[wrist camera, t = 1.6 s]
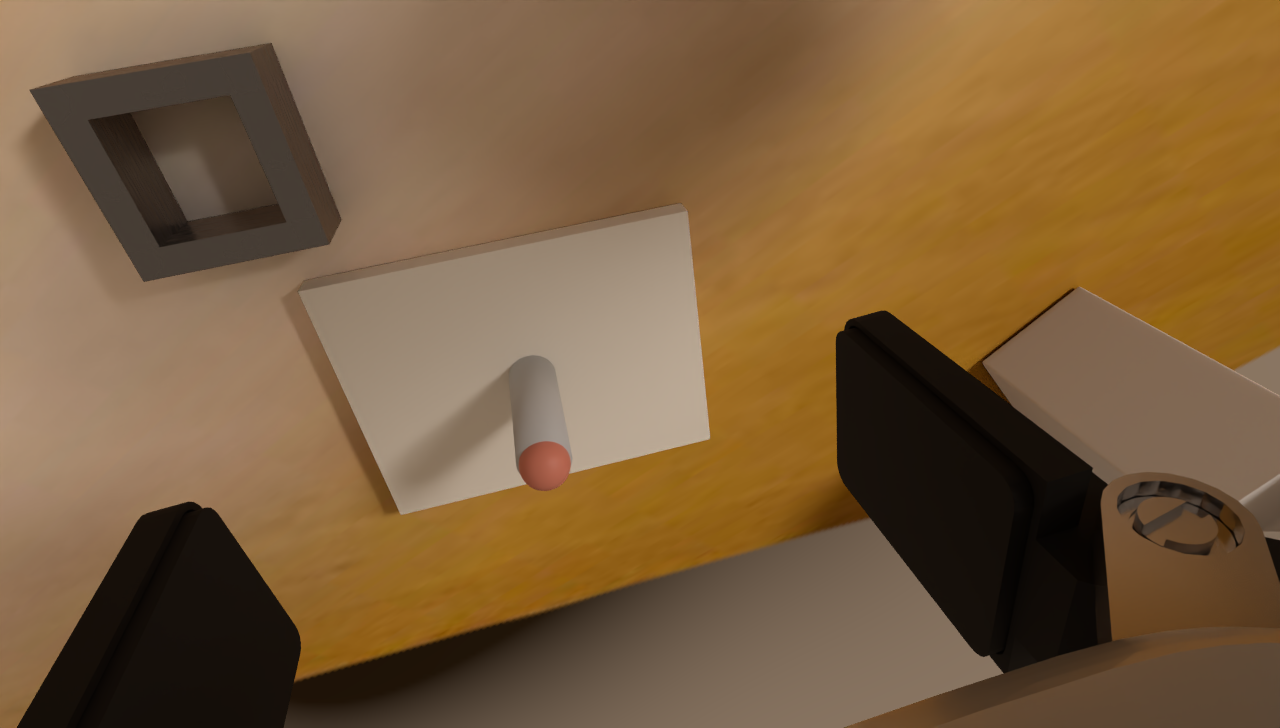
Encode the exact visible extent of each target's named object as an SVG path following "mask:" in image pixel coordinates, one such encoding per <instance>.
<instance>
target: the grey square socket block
mask: <svg viewBox="0 0 1280 728" xmlns="http://www.w3.org/2000/svg"><path fill="white" fill-rule="evenodd" d="M30 92H31V94H32V95H33V97H34V99H35V100H36V102H37V104H38V105H39V107H40V109H41V110H42V112H43V114H44V115H45V117H46V119H47V120H48V122H49V124H50V125H51V127H52V129H53V130H54V132H55V134H56V135H57V137H58V139H59V140H60V142H61V144H62V146H63V147H64V149H65V151H66V152H67V154H68V156H69V157H70V159H71V161H72V162H73V164H74V166H75V167H76V169H77V171H78V172H79V174H80V176H81V177H82V179H83V181H84V182H85V184H86V186H87V187H88V189H89V191H90V192H91V194H92V196H93V197H94V199H95V201H96V202H97V204H98V206H99V207H100V209H101V211H102V213H103V214H104V216H105V218H106V219H107V221H108V223H109V224H110V226H111V228H112V229H113V231H114V233H115V234H116V236H117V238H118V239H119V241H120V243H121V244H122V246H123V248H124V249H125V251H126V253H127V254H128V256H129V258H130V259H131V261H132V263H133V264H134V266H135V268H136V269H137V271H138V273H139V274H140V276H141V278H142V280H143V281H144V282H145V281H150V280H155V279H160V278H165V277H170V276H175V275H180V274H185V273H190V272H195V271H200V270H205V269H210V268H214V267H219V266H224V265H229V264H234V263H239V262H244V261H249V260H254V259H259V258H264V257H269V256H274V255H279V254H284V253H289V252H294V251H299V250H304V249H309V248H314V247H319V246H324V245H329V244H330V242H331V240H332V238H333V236H334V234H335V232H336V230H337V228H338V226H339V224H340V222H341V217H340V215H339V212H338V210H337V207H336V205H335V202H334V200H333V197H332V195H331V192H330V190H329V187H328V185H327V182H326V180H325V177H324V175H323V172H322V169H321V167H320V164H319V162H318V159H317V157H316V154H315V152H314V149H313V147H312V144H311V142H310V139H309V137H308V134H307V132H306V129H305V127H304V124H303V122H302V119H301V116H300V114H299V111H298V109H297V106H296V104H295V101H294V99H293V96H292V94H291V91H290V89H289V86H288V84H287V81H286V79H285V76H284V74H283V71H282V69H281V66H280V63H279V61H278V58H277V56H276V53H275V51H274V48H273V46H272V43H269V44H263V45H257V46H251V47H245V48H239V49H233V50H227V51H221V52H215V53H209V54H203V55H198V56H192V57H186V58H180V59H174V60H168V61H162V62H156V63H150V64H144V65H138V66H132V67H127V68H121V69H115V70H109V71H103V72H97V73H91V74H85V75H79V76H73V77H70V78H67V79H64V80H60V81H57V82H54V83H50V84H47V85H44V86H41V87H37V88H34V89H31V90H30ZM227 95H230V96H231V98H232V100H233V103H234V105H235V107H236V109H237V112H238V114H239V116H240V118H241V121H242V123H243V125H244V127H245V130H246V132H247V134H248V136H249V139H250V141H251V143H252V145H253V148H254V150H255V152H256V154H257V157H258V159H259V161H260V163H261V166H262V168H263V170H264V172H265V175H266V177H267V179H268V181H269V184H270V186H271V188H272V190H273V193H274V195H275V197H276V199H277V202H278V204H276V205H270V206H265V207H260V208H255V209H250V210H245V211H239V212H234V213H229V214H224V215H219V216H214V217H208V218H203V219H198V220H193V221H188V222H187V220H186V218H185V216H184V214H183V212H182V211H181V209H180V207H179V205H178V203H177V201H176V199H175V197H174V195H173V194H172V192H171V190H170V188H169V186H168V184H167V182H166V180H165V178H164V177H163V175H162V173H161V171H160V169H159V167H158V165H157V163H156V161H155V160H154V158H153V156H152V154H151V152H150V150H149V148H148V146H147V144H146V143H145V141H144V139H143V137H142V135H141V133H140V131H139V129H138V127H137V126H136V124H135V122H134V120H133V118H132V116H131V114H130V112H136V111H142V110H147V109H153V108H159V107H164V106H170V105H176V104H181V103H187V102H193V101H198V100H204V99H210V98H215V97H221V96H227Z"/></svg>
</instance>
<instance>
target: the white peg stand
mask: <svg viewBox="0 0 1280 728" xmlns="http://www.w3.org/2000/svg"><path fill="white" fill-rule="evenodd" d="M298 293H299V296H300V298H301V300H302V302H303V304H304V306H305V309H306V311H307V313H308V315H309V317H310V319H311V322H312V324H313V326H314V328H315V330H316V332H317V335H318V337H319V339H320V341H321V343H322V345H323V348H324V350H325V352H326V354H327V356H328V358H329V360H330V363H331V365H332V367H333V369H334V371H335V373H336V376H337V378H338V380H339V382H340V384H341V386H342V389H343V391H344V393H345V395H346V397H347V399H348V402H349V404H350V406H351V408H352V410H353V412H354V415H355V417H356V419H357V421H358V423H359V425H360V428H361V430H362V432H363V434H364V436H365V438H366V441H367V443H368V445H369V447H370V449H371V451H372V454H373V456H374V458H375V460H376V462H377V464H378V467H379V469H380V471H381V473H382V475H383V477H384V480H385V482H386V484H387V486H388V488H389V490H390V493H391V495H392V497H393V499H394V501H395V503H396V506H397V508H398V510H399V512H400V514H401V515H403V514H407V513H411V512H415V511H419V510H423V509H427V508H431V507H435V506H440V505H444V504H448V503H452V502H456V501H460V500H464V499H468V498H472V497H476V496H480V495H484V494H488V493H492V492H496V491H501V490H505V489H509V488H513V487H517V486H521V485H525V484H527V485H529V486H530V487H532V488H534V489H536V490H541V491H548V490H552V489H555V488H557V487H559V486H560V485H561V484H562V483H563V482H564V481H565V480H566V479H567V477H568V475H569V474H570V473H574V472H578V471H582V470H586V469H590V468H594V467H598V466H602V465H606V464H610V463H614V462H618V461H622V460H626V459H631V458H635V457H639V456H643V455H647V454H651V453H655V452H659V451H663V450H667V449H671V448H675V447H679V446H683V445H687V444H691V443H696V442H700V441H704V440H708V439H710V432H709V422H708V412H707V402H706V392H705V382H704V372H703V362H702V352H701V342H700V331H699V321H698V311H697V301H696V291H695V281H694V271H693V261H692V251H691V241H690V231H689V221H688V211H687V210H686V208H685V207H684V206H683V205H682V204H681V203H678V204H674V205H669V206H664V207H659V208H654V209H649V210H645V211H640V212H635V213H630V214H625V215H620V216H615V217H611V218H606V219H601V220H596V221H591V222H586V223H582V224H577V225H572V226H567V227H562V228H557V229H552V230H548V231H543V232H538V233H533V234H528V235H523V236H519V237H514V238H509V239H504V240H499V241H494V242H489V243H485V244H480V245H475V246H470V247H465V248H460V249H456V250H451V251H446V252H441V253H436V254H431V255H426V256H422V257H417V258H412V259H407V260H402V261H397V262H393V263H388V264H383V265H378V266H373V267H368V268H364V269H359V270H354V271H349V272H344V273H339V274H334V275H330V276H325V277H320V278H315V279H310V280H305V281H303V283H302V285H301V287H300V289H299V291H298Z"/></svg>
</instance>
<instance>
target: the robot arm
mask: <svg viewBox="0 0 1280 728" xmlns="http://www.w3.org/2000/svg"><path fill="white" fill-rule="evenodd" d="M836 399H837V465H838V470H839V473H840V476H841V479H842V481H843V483H844V484H845V486H846V487H847V488H848V490H849V491H850V492H851V494H852V495H853V496H854V497H855V499H856V500H857V501H858V503H859V504H860V505H861V506H862V508H863V509H864V510H865V512H866V513H867V514H868V515H869V517H870V518H871V519H872V521H873V522H874V523H875V525H876V526H877V527H878V528H879V530H880V531H881V532H882V534H883V535H884V536H885V537H886V539H887V540H888V541H889V542H890V544H891V545H892V546H893V548H894V549H895V550H896V552H897V553H898V554H899V555H900V557H901V558H902V559H903V561H904V562H905V563H906V565H907V566H908V567H909V568H910V570H911V571H912V572H913V573H914V575H915V576H916V577H917V579H918V580H919V581H920V582H921V584H922V585H923V586H924V588H925V589H926V590H927V592H928V593H929V594H930V595H931V597H932V598H933V599H934V601H935V602H936V603H937V604H938V606H939V607H940V608H941V610H942V611H943V612H944V614H945V615H946V616H947V617H948V619H949V620H950V621H951V622H952V624H953V625H954V626H955V627H956V629H957V630H958V632H959V633H960V634H961V635H962V637H963V638H964V639H965V641H966V642H967V643H968V644H969V646H970V647H971V648H972V649H973V650H974V651H975V652H976V653H977V654H979V655H980V656H983V657H985V656H988V655H990V657H991V658H992V659H993V660H994V662H995V663H996V664H997V666H998V667H999V668H1000V669H1001V670H1002V672H1003V673H1004V674H1001V675H998V676H995V677H992V678H989V679H985V680H983V681H979V682H976V683H973V684H971V685H967V686H964V687H961V688H958V689H955V690H952V691H949V692H946V693H943V694H939V695H937V696H934V697H931V698H928V699H925V700H922V701H919V702H916V703H913V704H911V705H908V706H905V707H902V708H899V709H896V710H893V711H890V712H887V713H884V714H882V715H879V716H876V717H873V718H870V719H867V720H864V721H861V722H858V723H856V724H853V725H850V726H847V727H844V728H1280V540H1277V539H1272V538H1268V537H1265V536H1264V533H1263V530H1262V529H1261V527H1260V525H1259V523H1258V522H1257V520H1256V518H1255V517H1254V515H1253V514H1252V513H1251V512H1250V511H1249V510H1248V509H1246V508H1245V507H1244V506H1243V505H1242V504H1241V503H1240V502H1239V501H1238V500H1236V499H1234V498H1233V497H1231V496H1229V495H1228V494H1226V493H1224V492H1223V491H1221V490H1219V489H1218V488H1215V487H1213V486H1210V485H1208V484H1205V483H1203V482H1200V481H1198V480H1195V479H1192V478H1187V477H1183V476H1179V475H1174V474H1170V473H1157V472H1142V473H1134V474H1127V475H1124V476H1122V477H1120V478H1117V479H1115V480H1112V481H1111V482H1110V484H1109V485H1108V484H1107V483H1106V482H1105V481H1103V480H1102V479H1101V478H1099V477H1098V476H1097V475H1095V474H1094V473H1093V472H1092V470H1093V467H1091V466H1090V465H1089V464H1087V463H1086V462H1085V461H1083V460H1082V459H1081V458H1080V457H1078V456H1077V455H1076V454H1074V453H1073V452H1072V451H1070V450H1069V449H1068V448H1066V447H1065V446H1064V445H1063V444H1061V443H1060V442H1059V441H1057V440H1056V439H1055V438H1053V437H1052V436H1051V435H1049V434H1048V433H1047V432H1045V431H1044V430H1043V429H1042V428H1040V427H1039V426H1038V425H1036V424H1035V423H1034V422H1032V421H1031V420H1030V419H1028V418H1027V417H1026V416H1024V415H1023V414H1022V413H1021V412H1019V411H1018V410H1017V409H1015V408H1014V407H1013V406H1011V405H1010V404H1009V403H1007V402H1006V401H1005V400H1004V399H1002V398H1001V397H1000V396H998V395H997V394H996V393H994V392H993V391H992V390H990V389H989V388H988V387H986V386H985V385H984V384H983V383H981V382H980V381H979V380H977V379H976V378H975V377H973V376H972V375H971V374H969V373H968V372H967V371H965V370H964V369H963V368H962V367H960V366H959V365H958V364H956V363H955V362H954V361H952V360H951V359H950V358H948V357H947V356H946V355H944V354H943V353H942V352H941V351H939V350H938V349H937V348H935V347H934V346H933V345H931V344H930V343H929V342H927V341H926V340H925V339H924V338H922V337H921V336H920V335H918V334H917V333H916V332H914V331H913V330H912V329H910V328H909V327H908V326H906V325H905V324H904V323H903V322H901V321H900V320H899V319H897V318H896V317H895V316H893V315H892V314H891V313H889V312H887V311H878V312H875V313H871V314H868V315H864V316H860V317H857V318H853V319H850V320H848V321H847V322H846V325H845V329H844V331H841V332H839V333H838V334H837V337H836ZM300 651H301V641H300V636H299V632H298V630H297V628H296V626H295V624H294V623H293V622H292V620H291V619H290V617H289V616H288V614H287V613H286V611H285V610H284V609H283V607H282V606H281V604H280V603H279V601H278V600H277V598H276V597H275V596H274V594H273V593H272V591H271V590H270V588H269V587H268V585H267V584H266V583H265V581H264V580H263V578H262V577H261V575H260V574H259V572H258V571H257V570H256V568H255V567H254V565H253V564H252V562H251V561H250V559H249V558H248V557H247V555H246V554H245V552H244V551H243V549H242V548H241V546H240V545H239V543H238V542H237V541H236V539H235V538H234V536H233V535H232V533H231V532H230V530H229V529H228V528H227V526H226V525H225V523H224V522H223V520H222V519H221V517H220V516H219V515H218V513H217V512H216V511H215V510H213V509H212V508H203V509H202V507H201V506H200V505H198V504H196V503H194V502H186V503H182V504H179V505H175V506H171V507H168V508H164V509H160V510H157V511H153V512H150V513H147V514H145V515H142V516H141V517H140V519H139V520H138V521H137V523H136V524H135V526H134V528H133V529H132V531H131V533H130V535H129V536H128V538H127V540H126V541H125V543H124V545H123V547H122V548H121V550H120V552H119V553H118V555H117V557H116V559H115V560H114V562H113V564H112V565H111V567H110V569H109V571H108V572H107V574H106V576H105V577H104V579H103V581H102V583H101V584H100V586H99V588H98V589H97V591H96V593H95V595H94V596H93V598H92V600H91V601H90V603H89V605H88V607H87V608H86V610H85V612H84V613H83V615H82V617H81V619H80V620H79V622H78V624H77V625H76V627H75V629H74V631H73V632H72V634H71V636H70V637H69V639H68V641H67V643H66V644H65V646H64V648H63V649H62V651H61V653H60V654H59V656H58V658H57V660H56V661H55V663H54V665H53V666H52V668H51V670H50V672H49V673H48V675H47V677H46V678H45V680H44V682H43V684H42V685H41V687H40V689H39V690H38V692H37V694H36V696H35V697H34V699H33V701H32V702H31V704H30V706H29V708H28V709H27V711H26V713H25V714H24V716H23V718H22V720H21V721H20V723H19V725H18V726H17V728H283V727H284V722H285V719H286V714H287V710H288V705H289V701H290V696H291V692H292V688H293V683H294V679H295V675H296V670H297V666H298V661H299V657H300Z"/></svg>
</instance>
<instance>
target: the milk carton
mask: <svg viewBox="0 0 1280 728" xmlns="http://www.w3.org/2000/svg"><path fill="white" fill-rule="evenodd" d="M983 365H984V367H985V368H986V369H987V371H988V372H989V374H990V375H991V377H992V378H993V379H994V381H995V382H996V384H997V385H998V386H999V388H1000V389H1001V391H1002V392H1003V393H1004V395H1005V396H1006V398H1007V399H1008V401H1009V402H1010V403H1011V405H1012V406H1013V407H1014V408H1015V409H1017V410H1018V411H1019V412H1021V413H1022V414H1023V415H1024V416H1026V417H1027V418H1028V419H1030V420H1031V421H1032V422H1034V423H1035V424H1036V425H1038V426H1039V427H1040V428H1042V429H1043V430H1044V431H1045V432H1047V433H1048V434H1049V435H1051V436H1052V437H1053V438H1055V439H1056V440H1057V441H1059V442H1060V443H1061V444H1063V445H1064V446H1065V447H1066V448H1068V449H1069V450H1070V451H1072V452H1073V453H1074V454H1076V455H1077V456H1078V457H1080V458H1081V459H1082V460H1083V461H1085V462H1086V463H1087V464H1089V465H1090V466H1091V467H1093V470H1092V472H1093V473H1094V474H1095V475H1097V476H1098V477H1099V478H1101V479H1102V480H1103V481H1105V482H1106V483H1107V484H1108V485H1109V484H1110V482H1111V481H1112V480H1115V479H1117V478H1120V477H1122V476H1124V475H1127V474H1134V473H1142V472H1157V473H1170V474H1174V475H1179V476H1183V477H1187V478H1192V479H1195V480H1198V481H1200V482H1203V483H1205V484H1208V485H1210V486H1213V487H1215V488H1218V489H1219V490H1221V491H1223V492H1224V493H1226V494H1228V495H1229V496H1231V497H1233V498H1234V499H1236V500H1238V501H1239V502H1240V503H1241V504H1242V505H1243V506H1244V507H1245V508H1246V509H1248V510H1249V511H1250V512H1251V513H1252V514H1253V515H1254V517H1255V518H1256V520H1257V522H1258V523H1259V525H1260V527H1261V529H1262V530H1263V533H1264V536H1265V537H1268V538H1272V539H1277V540H1280V396H1279V395H1277V394H1275V393H1274V392H1272V391H1270V390H1268V389H1266V388H1264V387H1263V386H1261V385H1259V384H1257V383H1255V382H1253V381H1252V380H1250V379H1248V378H1246V377H1244V376H1242V375H1241V374H1239V373H1237V372H1235V371H1233V370H1231V369H1230V368H1228V367H1226V366H1224V365H1222V364H1221V363H1219V362H1217V361H1215V360H1213V359H1211V358H1210V357H1208V356H1206V355H1204V354H1202V353H1200V352H1199V351H1197V350H1195V349H1193V348H1191V347H1189V346H1188V345H1186V344H1184V343H1182V342H1180V341H1178V340H1177V339H1175V338H1173V337H1171V336H1169V335H1167V334H1166V333H1164V332H1162V331H1160V330H1158V329H1156V328H1155V327H1153V326H1151V325H1149V324H1147V323H1145V322H1144V321H1142V320H1140V319H1138V318H1136V317H1134V316H1133V315H1131V314H1129V313H1127V312H1125V311H1123V310H1122V309H1120V308H1118V307H1116V306H1114V305H1113V304H1111V303H1109V302H1107V301H1105V300H1103V299H1102V298H1100V297H1098V296H1096V295H1094V294H1092V293H1091V292H1089V291H1087V290H1085V289H1083V288H1081V287H1078V288H1076V289H1075V290H1074V291H1072V292H1071V293H1070V294H1069V295H1067V296H1066V297H1065V298H1063V299H1062V300H1061V301H1059V302H1058V303H1057V304H1056V305H1054V306H1053V307H1052V308H1050V309H1049V310H1048V311H1047V312H1045V313H1044V314H1043V315H1042V316H1040V317H1039V318H1038V319H1036V320H1035V321H1034V322H1033V323H1031V324H1030V325H1029V326H1027V327H1026V328H1025V329H1024V330H1022V331H1021V332H1020V333H1018V334H1017V335H1016V336H1015V337H1013V338H1012V339H1011V340H1009V341H1008V342H1007V343H1006V344H1004V345H1003V346H1002V347H1001V348H999V349H998V350H997V351H995V352H994V353H993V354H992V355H990V356H989V357H988V358H987V359H985V360H984V361H983Z"/></svg>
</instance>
